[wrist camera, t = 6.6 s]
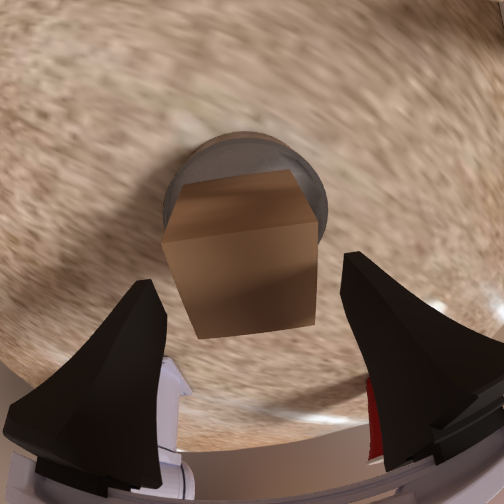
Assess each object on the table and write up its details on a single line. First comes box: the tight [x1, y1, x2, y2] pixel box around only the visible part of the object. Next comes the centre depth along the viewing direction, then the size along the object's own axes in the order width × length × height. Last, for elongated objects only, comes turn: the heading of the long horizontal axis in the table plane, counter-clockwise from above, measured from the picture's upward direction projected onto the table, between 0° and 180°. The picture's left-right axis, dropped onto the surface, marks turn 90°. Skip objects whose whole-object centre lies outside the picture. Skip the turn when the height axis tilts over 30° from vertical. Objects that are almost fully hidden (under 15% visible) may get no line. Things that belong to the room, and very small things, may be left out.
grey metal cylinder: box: [163, 131, 328, 244], centre depth 15 cm, size 8×8×3 cm
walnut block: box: [161, 169, 318, 339], centre depth 12 cm, size 5×5×5 cm
